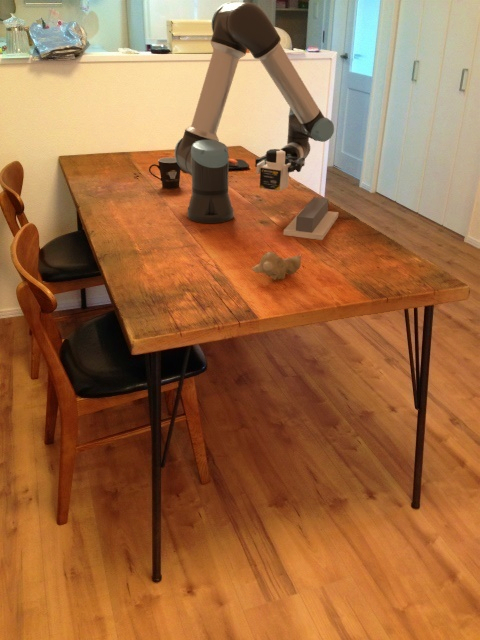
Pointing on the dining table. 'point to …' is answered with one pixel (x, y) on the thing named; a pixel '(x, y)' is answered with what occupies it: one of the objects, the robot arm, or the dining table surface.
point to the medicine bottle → (274, 171)
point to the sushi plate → (237, 164)
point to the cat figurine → (277, 265)
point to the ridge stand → (312, 220)
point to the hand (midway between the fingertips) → (270, 170)
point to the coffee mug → (168, 172)
